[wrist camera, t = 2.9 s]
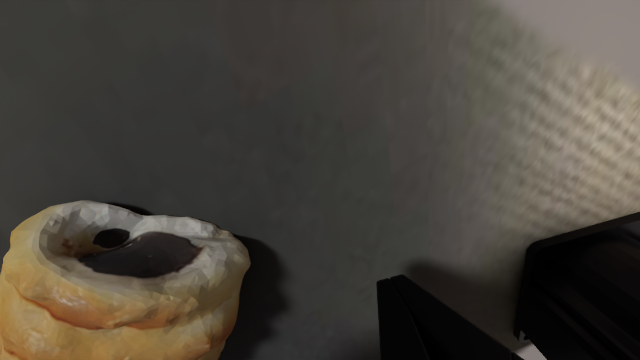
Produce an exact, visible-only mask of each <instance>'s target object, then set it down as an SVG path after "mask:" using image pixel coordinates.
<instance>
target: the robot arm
mask: <svg viewBox="0 0 640 360" xmlns="http://www.w3.org/2000/svg"><path fill="white" fill-rule="evenodd" d="M377 302H378V319H379V336H380V353H381V360H524V359H523V358H521V357H520V356H518V355H517V354H516V353H514V352H513V353H511V350H510V349H508V348H507V347H505V346H504V345H503V344H501V343H500V342H498V341H497V340H495V339H494V338H493V337H491V336H490V335H488V334H487V333H486V332H484V331H483V330H481V329H480V328H478V327H477V326H476V325H474V324H473V323H471V322H470V321H468V320H467V319H466V318H464V317H463V316H461V315H460V314H459V313H457V312H456V311H454V310H453V309H451V308H450V307H449V306H447V305H446V304H444V303H443V302H442V301H440V300H439V299H437V298H436V297H434V296H433V295H432V294H430V293H429V292H427V291H426V290H424V289H423V288H422V287H420V286H419V285H417V284H416V283H415V282H413V281H412V280H410V279H409V278H407V277H406V276H405V275H402V274H401V275H397V276H393V277H391V278H390V279H389V278H386V279H383V280H379V281H377ZM513 334H514V336H515V337H516V338H517V339H518V341H519V342H520V343H528V342H532V343H533V344H534V345H535V346H536V348H537V349H538V350H539V351H540V352H541V353H542V354H543V356H544V357H545V358H546V359H547V360H640V213H636V214H633V215H629V216H626V217H622V218H619V219H615V220H612V221H608V222H605V223H601V224H597V225H594V226H590V227H587V228H583V229H580V230H576V231H573V232H569V233H566V234H562V235H559V236H555V237H552V238H548V239H544V240H541V241H538V242H535V243H534V244H532V245H531V246H530V247H529V248H528V250H527V253H526V258H525V264H524V271H523V277H522V283H521V289H520V295H519V301H518V307H517V314H516V320H515V326H514V332H513Z"/></svg>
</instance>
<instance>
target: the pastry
mask: <svg viewBox="0 0 640 360" xmlns="http://www.w3.org/2000/svg"><path fill="white" fill-rule="evenodd" d="M10 243H11V248H10V250H9V251H8V252H7V254H6V255H5V256H4V258H3V265H2V269H1V274H0V360H218V358H219V356H220V354H221V351H222V350H223V348H224V345H225V340H226V339H227V338H228V336H229V335H230V334H231V332H232V330H233V328H234V326H235V323H236V319H237V312H238V307H239V293H240V288H241V284H242V280H243V277H244V274H245V273H246V271H247V270H248V268H249V267H250V264H251V262H250V258H249V254H248V250H247V248H246V247H245V246H244V245H243V244H242V243H241V241H240V240H238V239H236V238H235V237H234V236H233V235H232V234H231V233H230V232H228V231H222V230H220V229H219V228H217V226H216V225H214V224H212V223H209V222H205V221H201V220H198V219H195V218H190V217H174V216H167V215H157V216H144V215H139V214H136V213H134V212H132V211H130V210H128V209H125V208H121V207H118V206H114V205H109V204H105V203H100V202H95V201H90V200H82V201H77V202H71V203H66V204H61V205H56V206H51V207H49V208H47V209H45V210H43V211H41V212H39V213H38V214H36V215H34V216H32V217H30V218H28V219H26V220H25V221H24V222H22V223H21V224H20V225H18V226H17V227H16V228H15V229H14V230H13V231H12V232H11V238H10Z"/></svg>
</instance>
